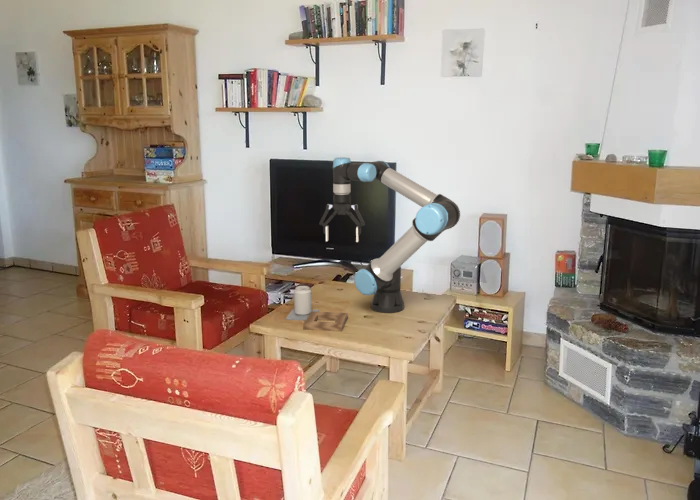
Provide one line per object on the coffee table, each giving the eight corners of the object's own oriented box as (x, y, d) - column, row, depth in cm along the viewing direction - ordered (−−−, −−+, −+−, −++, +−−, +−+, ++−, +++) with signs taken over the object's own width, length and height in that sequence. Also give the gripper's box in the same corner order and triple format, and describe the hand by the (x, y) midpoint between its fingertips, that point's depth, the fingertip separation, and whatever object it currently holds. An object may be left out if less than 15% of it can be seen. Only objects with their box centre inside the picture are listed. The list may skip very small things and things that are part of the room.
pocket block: (347, 318, 257) (347, 313, 256) (341, 331, 241) (341, 325, 241) (311, 316, 259) (311, 311, 258) (303, 329, 243) (303, 323, 243)
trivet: (319, 311, 265) (318, 309, 265) (313, 320, 254) (313, 318, 253) (292, 310, 267) (292, 308, 267) (286, 319, 255) (286, 317, 255)
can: (298, 317, 255) (297, 290, 252) (292, 312, 262) (291, 286, 259) (314, 314, 258) (313, 288, 256) (307, 309, 265) (307, 284, 262)
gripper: (371, 192, 259) (371, 240, 264) (315, 191, 262) (316, 238, 267) (369, 194, 252) (369, 243, 256) (312, 194, 255) (312, 242, 260)
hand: (342, 241), depth 262 cm, fingers open, 13 cm apart
